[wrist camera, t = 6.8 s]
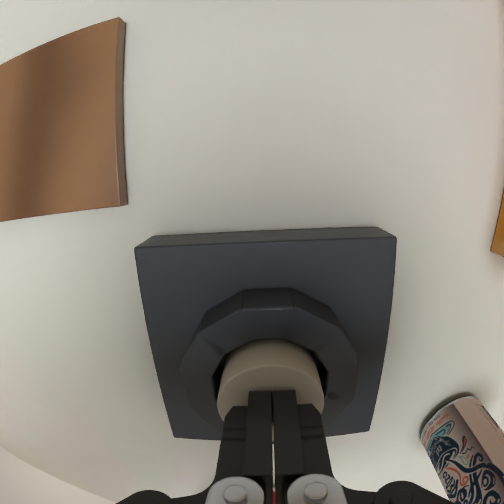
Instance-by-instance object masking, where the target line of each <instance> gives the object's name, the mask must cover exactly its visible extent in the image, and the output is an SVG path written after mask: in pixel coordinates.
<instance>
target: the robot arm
mask: <svg viewBox="0 0 504 504" xmlns="http://www.w3.org/2000/svg"><path fill="white" fill-rule="evenodd" d="M273 409H274V458H275V504H456V503H453V502H451V501H449V500H447V499H445V498H443V497H441V496H438V495H436V494H434V493H432V492H430V491H428V490H426V489H424V488H422V487H420V486H418V485H416V484H414V483H412V482H408V481H395V482H391V483H388V484H386V485H385V486H383V487H382V488H380V489H379V490H378V492H367V491H357V490H352V489H348V488H346V487H344V486H343V485H341V484H340V483H339V482H338V481H337V480H336V479H335V478H334V476H333V473H332V469H331V464H330V459H329V454H328V449H327V444H326V439H325V434H324V429H323V424H322V419H321V414H320V412H319V411H318V410H317V409H316V408H315V406H314V405H313V404H312V403H309V404H297V399H296V391H295V389H294V390H273ZM116 504H273V463H272V409H271V390H270V391H249V395H248V406H233V407H232V408H231V409H230V410H229V412H228V413H227V414H226V416H225V419H224V425H223V431H222V440H221V444H220V450H219V457H218V463H217V469H216V475H215V479H214V481H213V483H212V484H211V485H210V486H209V487H208V488H207V489H206V490H204V491H203V492H201V493H198V494H196V495H192V496H186V497H179V498H172V499H171V498H170V497H169V496H167V495H166V494H164V493H162V492H159V491H155V490H144V491H139V492H136V493H134V494H132V495H131V496H129V497H127V498H125V499H124V500H122V501H120V502H118V503H116Z"/></svg>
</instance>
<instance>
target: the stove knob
mask: <svg viewBox="0 0 504 504" xmlns="http://www.w3.org/2000/svg"><path fill="white" fill-rule="evenodd" d="M294 389H295V391H296V399H297V404H309V403H312V404H313V405H314V406H315V408H316V409H317V410H318V411H319V412H320V414H321V413H322V411H323V407H324V395H323V390H322V386H321V382H320V378H319V374H318V370H317V366H316V362H315V359H314V357H313V355H312V354H311V352H310V351H309V350H308V349H307V348H305V347H303V346H301V345H298V344H296V343H294V342H292V341H289V340H287V339H285V338H283V339H256V340H251V341H250V342H248V343H246V344H244V345H242V346H240V347H238V348H236V349H234V350H232V351H231V352H230V354H229V355H228V357H227V359H226V361H225V364H224V368H223V373H222V378H221V383H220V388H219V393H218V399H217V408H218V412H219V414H220V416H221V418H222V420H223V421H224V419H225V416H226V414H227V413H228V412H229V410H230V409H231V408H232V407H233V406H248V395H249V391H270V390H271V409H272V441H274V409H273V390H294Z"/></svg>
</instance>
